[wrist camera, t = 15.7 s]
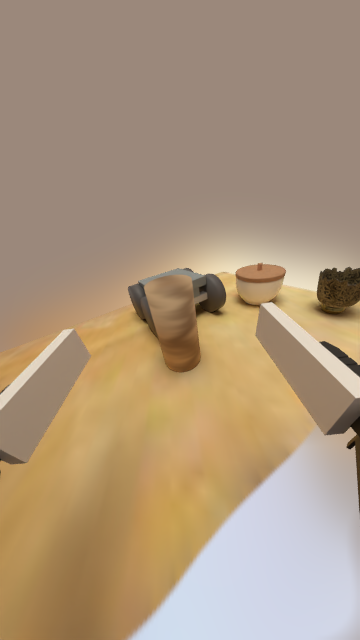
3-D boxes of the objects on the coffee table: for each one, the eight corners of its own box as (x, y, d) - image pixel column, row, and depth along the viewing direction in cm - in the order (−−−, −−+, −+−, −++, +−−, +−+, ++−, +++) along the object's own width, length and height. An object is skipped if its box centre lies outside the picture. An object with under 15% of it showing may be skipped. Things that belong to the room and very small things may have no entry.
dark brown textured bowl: (310, 317, 32) (323, 279, 28) (307, 301, 37) (317, 267, 33) (362, 323, 29) (386, 280, 24) (351, 304, 34) (369, 266, 29)
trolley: (163, 345, 32) (152, 303, 27) (135, 312, 46) (124, 281, 41) (226, 313, 38) (226, 275, 33) (184, 293, 53) (179, 264, 48)
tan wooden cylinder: (176, 378, 25) (156, 297, 17) (159, 355, 29) (137, 284, 22) (208, 358, 27) (202, 280, 20) (187, 340, 32) (176, 272, 24)
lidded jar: (289, 299, 39) (299, 260, 34) (257, 314, 36) (262, 273, 31) (254, 288, 48) (258, 255, 43) (226, 299, 44) (226, 265, 40)
